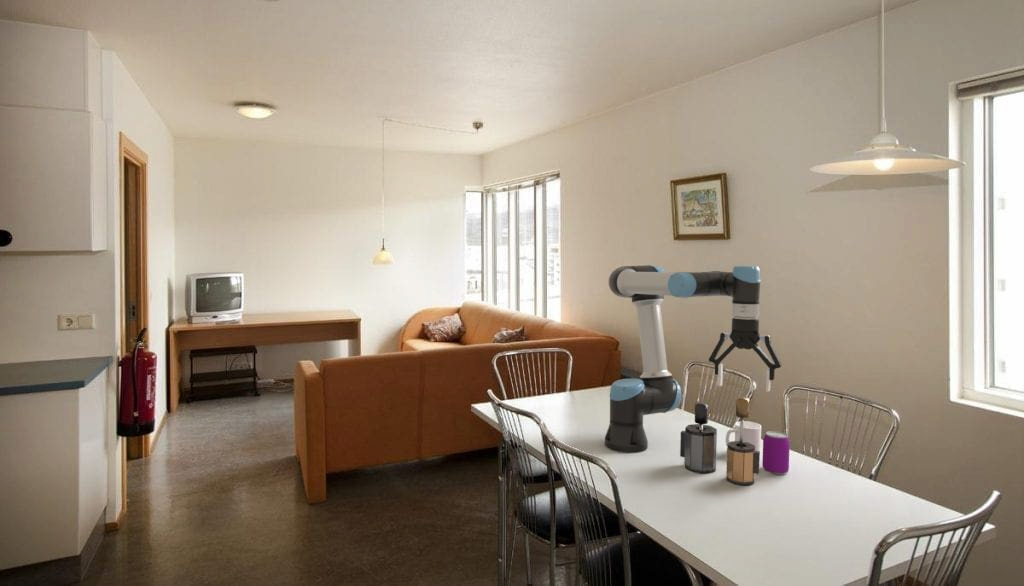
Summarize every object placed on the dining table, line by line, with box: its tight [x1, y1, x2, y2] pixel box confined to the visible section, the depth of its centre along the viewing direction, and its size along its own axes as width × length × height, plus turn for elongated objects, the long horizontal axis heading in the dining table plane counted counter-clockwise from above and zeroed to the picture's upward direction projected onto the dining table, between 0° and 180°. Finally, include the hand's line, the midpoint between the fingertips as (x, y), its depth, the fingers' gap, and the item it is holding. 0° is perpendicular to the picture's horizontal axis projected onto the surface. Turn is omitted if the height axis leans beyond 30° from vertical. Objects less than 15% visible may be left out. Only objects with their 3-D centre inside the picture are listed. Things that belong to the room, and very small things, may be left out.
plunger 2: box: [735, 396, 750, 447], centre depth 180 cm, size 5×5×18 cm
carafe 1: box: [679, 423, 718, 475], centre depth 191 cm, size 11×10×13 cm
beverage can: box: [761, 430, 791, 476], centre depth 188 cm, size 8×8×12 cm
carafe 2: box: [725, 440, 761, 487], centre depth 180 cm, size 9×8×11 cm
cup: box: [725, 420, 762, 453], centre depth 204 cm, size 8×12×10 cm
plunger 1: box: [694, 401, 709, 430], centre depth 190 cm, size 7×7×18 cm
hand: (743, 388), depth 179 cm, fingers open, 13 cm apart
